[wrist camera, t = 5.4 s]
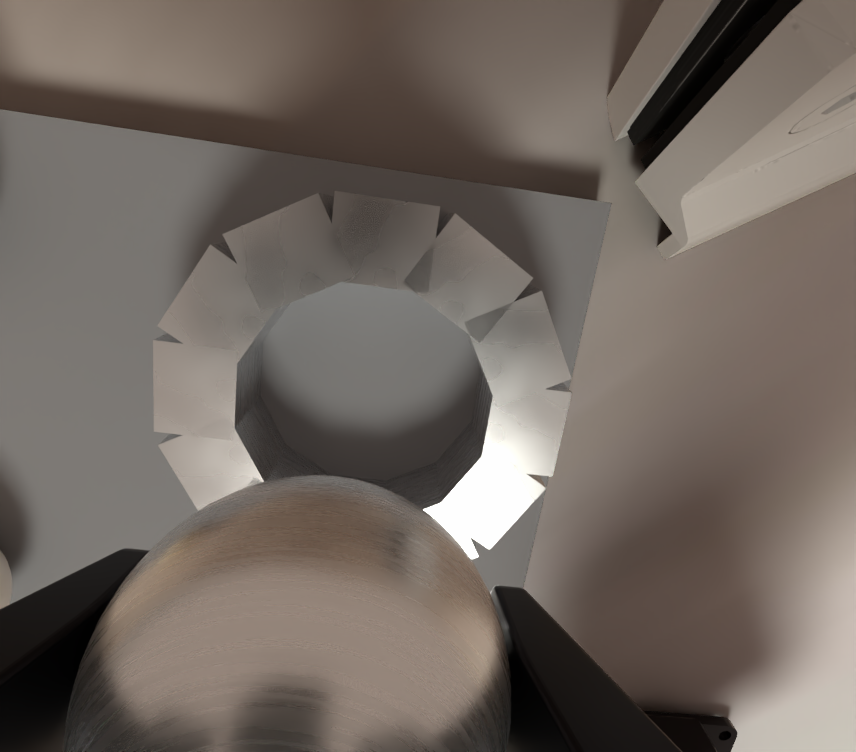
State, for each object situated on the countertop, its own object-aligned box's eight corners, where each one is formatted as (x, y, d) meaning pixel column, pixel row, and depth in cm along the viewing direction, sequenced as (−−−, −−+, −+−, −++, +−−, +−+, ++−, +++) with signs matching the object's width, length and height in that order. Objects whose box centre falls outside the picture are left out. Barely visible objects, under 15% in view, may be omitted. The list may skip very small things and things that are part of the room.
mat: (500, 638, 20) (505, 663, 19) (-81, 586, 19) (-113, 610, 18) (596, 204, 16) (611, 203, 15) (-162, 87, 14) (-212, 76, 13)
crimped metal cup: (508, 548, 18) (524, 600, 15) (190, 515, 17) (154, 565, 15) (577, 228, 15) (609, 231, 12) (195, 171, 14) (151, 163, 12)
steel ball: (457, 683, 9) (503, 1127, 4) (182, 661, 8) (-51, 1114, 4) (506, 437, 7) (633, 728, 3) (185, 399, 7) (-139, 664, 3)
